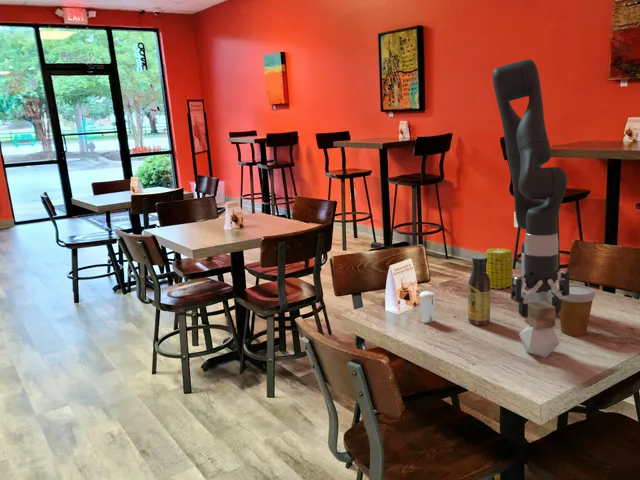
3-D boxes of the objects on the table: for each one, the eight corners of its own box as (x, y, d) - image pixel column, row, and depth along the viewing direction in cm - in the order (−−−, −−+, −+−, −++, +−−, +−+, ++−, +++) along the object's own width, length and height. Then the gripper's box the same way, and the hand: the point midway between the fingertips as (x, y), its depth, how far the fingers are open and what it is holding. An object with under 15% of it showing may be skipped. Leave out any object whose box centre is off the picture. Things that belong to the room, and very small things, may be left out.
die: (565, 355, 138) (552, 318, 142) (560, 351, 131) (546, 312, 135) (531, 363, 141) (520, 327, 145) (525, 360, 134) (513, 321, 138)
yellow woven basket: (488, 294, 190) (487, 287, 198) (521, 287, 186) (519, 281, 195) (478, 254, 188) (478, 249, 197) (511, 247, 185) (509, 242, 194)
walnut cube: (543, 319, 140) (543, 300, 139) (554, 326, 135) (555, 307, 134) (525, 322, 139) (525, 303, 138) (536, 329, 134) (536, 309, 133)
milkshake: (438, 324, 162) (437, 291, 160) (419, 323, 163) (418, 291, 161) (438, 318, 166) (437, 286, 164) (420, 318, 168) (419, 286, 165)
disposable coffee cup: (590, 326, 153) (592, 284, 151) (595, 339, 144) (597, 295, 142) (553, 324, 156) (554, 283, 154) (555, 337, 148) (557, 294, 145)
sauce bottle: (465, 319, 165) (465, 254, 160) (487, 317, 164) (487, 252, 160) (471, 327, 158) (470, 259, 154) (493, 326, 158) (493, 258, 154)
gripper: (558, 244, 138) (556, 306, 142) (505, 250, 136) (505, 313, 139) (577, 251, 131) (575, 316, 134) (522, 257, 128) (521, 323, 132)
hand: (539, 314), depth 137 cm, fingers open, 8 cm apart
